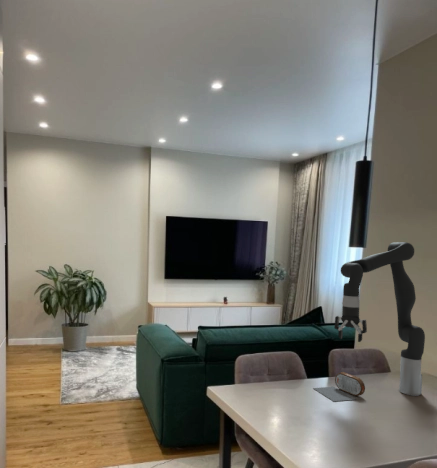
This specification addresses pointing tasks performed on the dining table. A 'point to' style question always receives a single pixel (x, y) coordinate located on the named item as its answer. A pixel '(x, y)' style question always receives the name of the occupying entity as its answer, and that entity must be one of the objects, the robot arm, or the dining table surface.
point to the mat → (334, 394)
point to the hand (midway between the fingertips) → (350, 340)
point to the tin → (350, 384)
